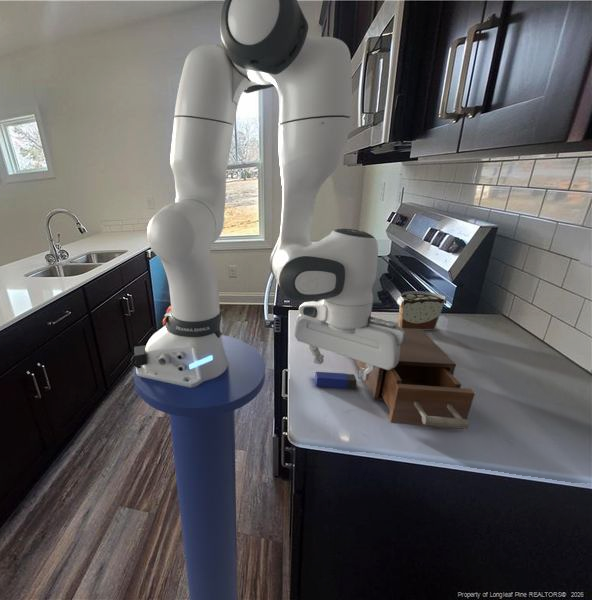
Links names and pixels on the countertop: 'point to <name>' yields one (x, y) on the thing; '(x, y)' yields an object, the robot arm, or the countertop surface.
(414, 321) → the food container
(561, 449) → the countertop surface
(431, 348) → the cabinet
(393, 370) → the drawer
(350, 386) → the blue and gray block
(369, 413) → the countertop surface
